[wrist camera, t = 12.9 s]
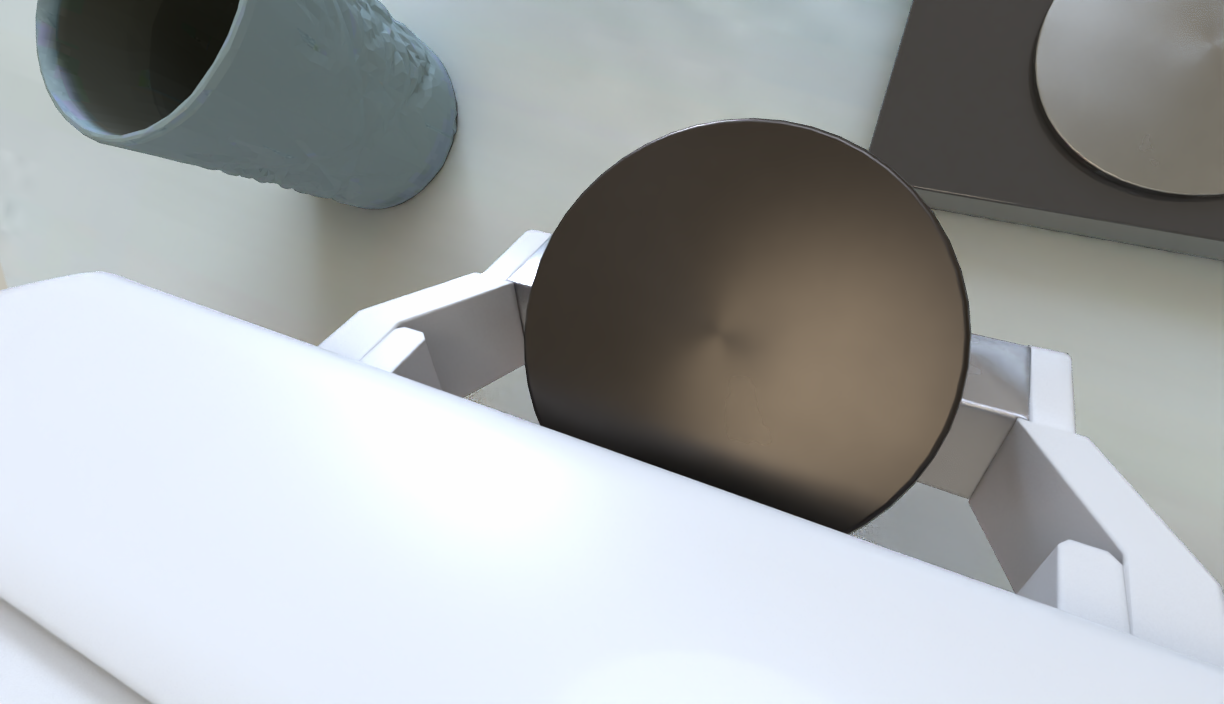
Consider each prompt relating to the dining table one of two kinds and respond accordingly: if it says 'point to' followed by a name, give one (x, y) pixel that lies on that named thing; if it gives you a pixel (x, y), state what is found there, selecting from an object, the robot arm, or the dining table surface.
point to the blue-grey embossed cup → (256, 90)
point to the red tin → (755, 319)
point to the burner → (1137, 91)
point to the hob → (1010, 136)
